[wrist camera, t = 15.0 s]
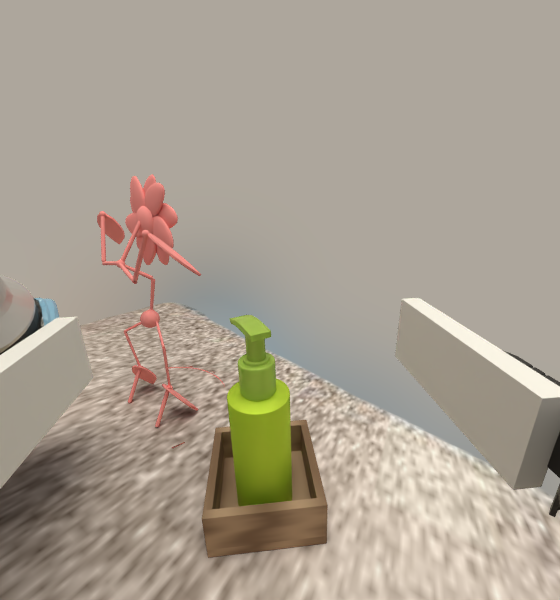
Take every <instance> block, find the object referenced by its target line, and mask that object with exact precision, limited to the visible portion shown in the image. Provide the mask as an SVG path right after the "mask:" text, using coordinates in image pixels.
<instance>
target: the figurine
mask: <svg viewBox="0 0 560 600" xmlns="http://www.w3.org/2000/svg"><path fill="white" fill-rule="evenodd" d="M130 190H131V191H130V192H131V197H130V201H131V207H132V211H133V213H132V214H130V215H128V216H127V218H126V225H127V228H128V229H129V231H130V232H131V233H132V236H131V238H130V240H129V242H128V245H127V247H126V249H125V251H124V253H123V256H122V258H121V260H118V261H116V262H115V261H114V262H113V261H112V262H106V250H105V249H106V248H105V234H106V235H107V236H109V237H110V238H111V239H113V240H114V241H115V242H117V243H118V244H120V243H121V242H122V241H123V239H124V237H125V235H124V231H123V229H122V227H121V226H120V225H119V224H118V223H117V221H116V220H115V219H114V218H112V217H111V216H109V215H107V214H106V213H105V212H104V211H101V212H100V213H99V215H98V216H97V222H98V224H99V227H100V228H101V252H102V262H103V263H102V264H103V265H117V266H118V267H119V268H121V269H122V270H123V271H124V272H125V274H126V275H127V276H128V277H129V278H130V280H131V281H132V282H133V283H134V284H136V283H137V280H138V276H139V274H140V275H142V276H144V277H146V278H148V279H151V301H150V309H149V310H147V311H145V312H143V313H142V315H141V317H140V321H141V322H139V323H137V324H136V325H134V326H132V327H130V328H128V329H126V330H124V334H125V336H126V338H127V341H128V343H129V345H130V347H131V350H132V352H133V354H134V357H135V359H136V361H137V364H138V366H137V365H135V366H133V367H132V372H133V373H134V374H135V375H136V377H135V380H134V383H133V386H132V390H131V393H130V396H129V400H128V402H129V403H131V402H132V398H133V395H134V392H135V389H136V385H137V382H138V379H139V378H141V379H143V380H145V381H147V382H149V383H151V384H154V383H155V381H156V379H157V378H156V375H155V374H154V373H153V372H151V371H150V370H148V369H147V368H145V367H143V366H141V365H140V363H139V360H138V358H137V356H136V353H135V351H134V348H133V346H132V344H131V341H130V339H129V337H128V334H127V331H129V330H131V329H133V328H135V327H137V326H139V325H141V324H142V325H143V326H145V327H148V328H152V327H155V326H157V330H158V333H159V337H160V341H161V345H162V349H163V355H164V361H165V368H166V374H167V380H168V385H166V384H162V386H163V387H164V388H165V389H166V391H165V395H164V398H163V401H162V405H161V408H160V412H159V415H158V418H157V422H156V425H155V427H159V425H160V422H161V418H162V415H163V411H164V408H165V405H166V401H167V398H168V395H169V392H170V393H171V394H172V395H174V396H175V397H176V398H178V399H179V400H180V401H182V402H183V403H185V404H186V405H188V406H189V407H191V408H193V409H194V410H196V411H197V410H198V409H197V408H196V407H195V406H194V405H193V404H191V403H190V402H189V401H188V400H186V399H185V398H184V397H183V396H181V395H180V394H179V393H177V392H176V391H174V390H173V389H172V388H173V387H172V386H171V384H170V377H169V370H168V363H167V356H166V349H165V346H164V342H163V339H162V335H161V331H160V328H159V324H158V323H159V320H160V317H159V314H158V313H157V312H155V311H154V310H153V301H154V289H155V279H153V276H151V275H148V274H146V273H144V272H141V271H140V267H141V263H142V259H144V262H145V263H146V264H147V265H150V264H151V263H152V261H153V259H154V257H155V255H156V253H157V255H158V257H159V260H160V261H161V262H162V263H163V264H164V265H167V264H168V262H169V255H170V256H171V257H172V258H174V259H175V260H176V261H178V262H179V263H180V264H181V265H183V266H184V267H186V268H187V269H189V270H190V271H192V272H193V273H195V274H197V275H198V276H200V275H201V274H200V273H199V272H198V271H197V270H196V269H195V268H194V267H193V266H192V265H191V264H190V263H189V262H187V261H186V260H185V259H184V258H183V257H182V256H180V255H179V254H178V253H177V252H176V251H174V250H173V249H172V248H173V237H172V234H171V231H170V228H171V227H173V226H174V225H175V224H176V223H177V218H178V217H177V215H176V212H175V211H174V209H173V208H172V207H171V206H169V205H168V204H166V203H163V200H164V195H165V190H164V187H163V185H162V184H160V183H156V180H155V177H154V175H150V176H149V177H148V179H147V180H146V182H145V185H144V188H142V186H141V184H140V182H139V180H138V178H137V177H136V176H133V177H132V179H131V185H130ZM135 237H137V246H138V248H139V254H138V259H137V263H136V267H135V269H134V268H132V267H130V266H127V265H125V262H124V261H125V259H126V257H127V255H128V252H129V250H130V248H131V246H132V243H133V241H134V239H135ZM127 269H129V270H131V271H133V272H134V276H132V275H131V273H130V272H129V271H128V270H127ZM191 367H193V366H190V367H169V368H191ZM193 369H197V368H193ZM199 370H201V369H199ZM203 371H205V370H203ZM206 372H208V371H206ZM211 372H212V371H211ZM208 373H210V372H208ZM213 373H214V372H213ZM211 374H212V373H211ZM213 375H214V374H213ZM214 376H215V375H214ZM216 377H217V376H216ZM217 378H218V377H217ZM218 379H219V378H218ZM219 380H220V379H219ZM220 381H221V380H220ZM221 382H222V381H221ZM222 383H223V382H222ZM223 385H224V384H223ZM183 443H185V442H183ZM183 443H181V444H183ZM181 444H179V445H181ZM179 445H177V446H179ZM177 446H174V447H177ZM174 447H172V448H174Z"/></svg>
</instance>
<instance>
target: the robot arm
mask: <svg viewBox="0 0 560 600" xmlns="http://www.w3.org/2000/svg"><path fill="white" fill-rule="evenodd" d="M395 357H396V358H397V359H398V360H399V361H400V362H401V363H402V365H403V366H404V367H405V368H406V369H407V370H408V371H409V372H410V374H411V375H412V376H413V377H414V378H415V379H416V380H417V381H418V383H419V384H420V385H421V386H422V387H423V388H424V389H425V391H426V392H427V393H428V394H429V395H430V396H431V397H432V398H433V400H434V401H435V402H436V403H437V404H438V405H439V406H440V408H441V409H442V410H443V411H444V412H445V413H446V414H447V415H448V416H449V418H450V419H451V420H452V421H453V422H454V423H455V424H456V426H457V427H458V428H459V429H460V430H461V431H462V432H463V434H464V435H465V436H466V437H467V438H468V439H469V440H470V441H471V443H472V444H473V445H474V446H475V447H476V448H477V449H478V451H479V452H480V453H481V454H482V455H483V456H484V457H485V458H486V459H487V461H488V462H489V463H490V464H491V465H492V466H493V468H494V469H495V470H496V471H497V472H498V473H499V474H500V475H501V477H502V478H503V479H504V480H505V481H506V482H507V483H508V485H509V486H510V487H511V488H512V489H513V490H516V489H525V488H534V487H541V486H542V483H543V481H544V478H545V475H546V472H547V470H548V468H549V469H550V470H552V471H553V472H554V473H555V474H556V475H557V476H558V477H559V478H560V382H558V381H556V380H555V379H553V378H552V377H550V376H546V375H545V373H544V372H542V371H540V370H539V369H537V368H533V366H532V365H531V364H529V363H527V362H526V361H524V360H523V359H521V358H519V357H518V356H515V355H513V354H510V353H508V352H505V351H503V350H501V349H499V348H498V347H496V346H494V345H493V344H491V343H490V342H488V341H486V340H485V339H483V338H482V337H480V336H478V335H477V334H475V333H474V332H472V331H470V330H469V329H467V328H466V327H464V326H463V325H461V324H460V323H458V322H456V321H455V320H453V319H452V318H450V317H448V316H447V315H445V314H444V313H442V312H440V311H439V310H437V309H436V308H434V307H433V306H431V305H429V304H428V303H426V302H425V301H423V300H421V299H420V298H410V299H402V301H401V310H400V318H399V326H398V336H397V343H396V352H395ZM92 379H93V374H92V370H91V366H90V362H89V359H88V355H87V351H86V347H85V344H84V340H83V336H82V332H81V329H80V325H79V322H78V318H77V317H65V318H59V314H58V309H57V305H56V303H55V301H53V300H52V299H42V298H33V296H32V295H31V293H30V292H29V290H28V289H27V288H26V287H25V286H24V285H23V284H21V283H20V282H18V281H16V280H14V279H12V278H10V277H7V276H3V275H0V489H1V488H2V486H3V485H4V484H5V483H6V482H7V480H8V479H9V478H10V477H11V476H12V474H13V473H14V472H15V471H16V470H17V468H18V467H19V466H20V465H21V464H22V462H23V461H24V460H25V459H26V458H27V457H28V455H29V454H30V453H31V452H32V451H33V449H34V448H35V447H36V446H37V445H38V443H39V442H40V441H41V440H42V439H43V437H44V436H45V435H46V434H47V433H48V431H49V430H50V429H51V428H52V427H53V425H54V424H55V423H56V422H57V421H58V419H59V418H60V417H61V416H62V415H63V413H64V412H65V411H66V410H67V409H68V407H69V406H70V405H71V404H72V403H73V401H74V400H75V399H76V398H77V397H78V395H79V394H80V393H81V392H82V391H83V389H84V388H85V387H86V386H87V385H88V383H89V382H90V381H91V380H92ZM558 510H560V485H559V487H558V490H557V492H556V495H555V498H554V500H553V503H552V505H551V508H550V512H549V515H551V516H554V517H555V516H556V513H557V511H558Z"/></svg>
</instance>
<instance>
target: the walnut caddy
mask: <svg viewBox="0 0 560 600" xmlns="http://www.w3.org/2000/svg"><path fill="white" fill-rule="evenodd" d="M290 426H291V464H292V501H285V502H276V503H266V504H257V505H248V506H239V505H238V498H237V489H236V479H235V469H234V460H233V450H232V441H231V431H230V427H222V428H216V429H215V436H214V443H213V449H212V456H211V462H210V469H209V476H208V482H207V489H206V495H205V502H204V509H203V515H202V523H203V529H204V535H205V542H206V548H207V554H208V558H209V557H217V556H225V555H233V554H242V553H250V552H258V551H266V550H275V549H283V548H291V547H299V546H308V545H316V544H324V543H326V542H327V502H326V498H325V494H324V490H323V486H322V481H321V477H320V473H319V469H318V465H317V461H316V457H315V453H314V449H313V445H312V441H311V437H310V433H309V429H308V425H307V421H306V420H299V421H290Z"/></svg>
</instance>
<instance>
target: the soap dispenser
mask: <svg viewBox="0 0 560 600" xmlns="http://www.w3.org/2000/svg"><path fill="white" fill-rule="evenodd" d="M230 322H231V324H233V325H235V326H236V327H237V328H238V329H239V330H240V331H241V332H242V333H243V334H244V335H245V341H246V354H245V355H243V356H242V357H241V358H240V359H239V360H238V372H239V382H238V383H236V384H235V385H234V386H232V388H231V389H230V390H229V392H228V395H227V402H228V412H229V421H230V431H231V441H232V450H233V460H234V469H235V479H236V489H237V498H238V505H239V506H248V505H257V504H266V503H276V502H285V501H292V464H291V426H290V392H289V388H288V387H287V385H286V384H285V383H284V382H282V381H281V380H279V379H276V372H275V359H274V357H273V356H272V355H271V354H269V353H266V352H265V338H269V337H271V331H270V330H269V329H268V328H267V327H266V326H265V325H264V324H263V323H262V322H261V321H260V320H258V319H257V318H256V317H254V316H252V315H244V316H239V317H235V318H230Z"/></svg>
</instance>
